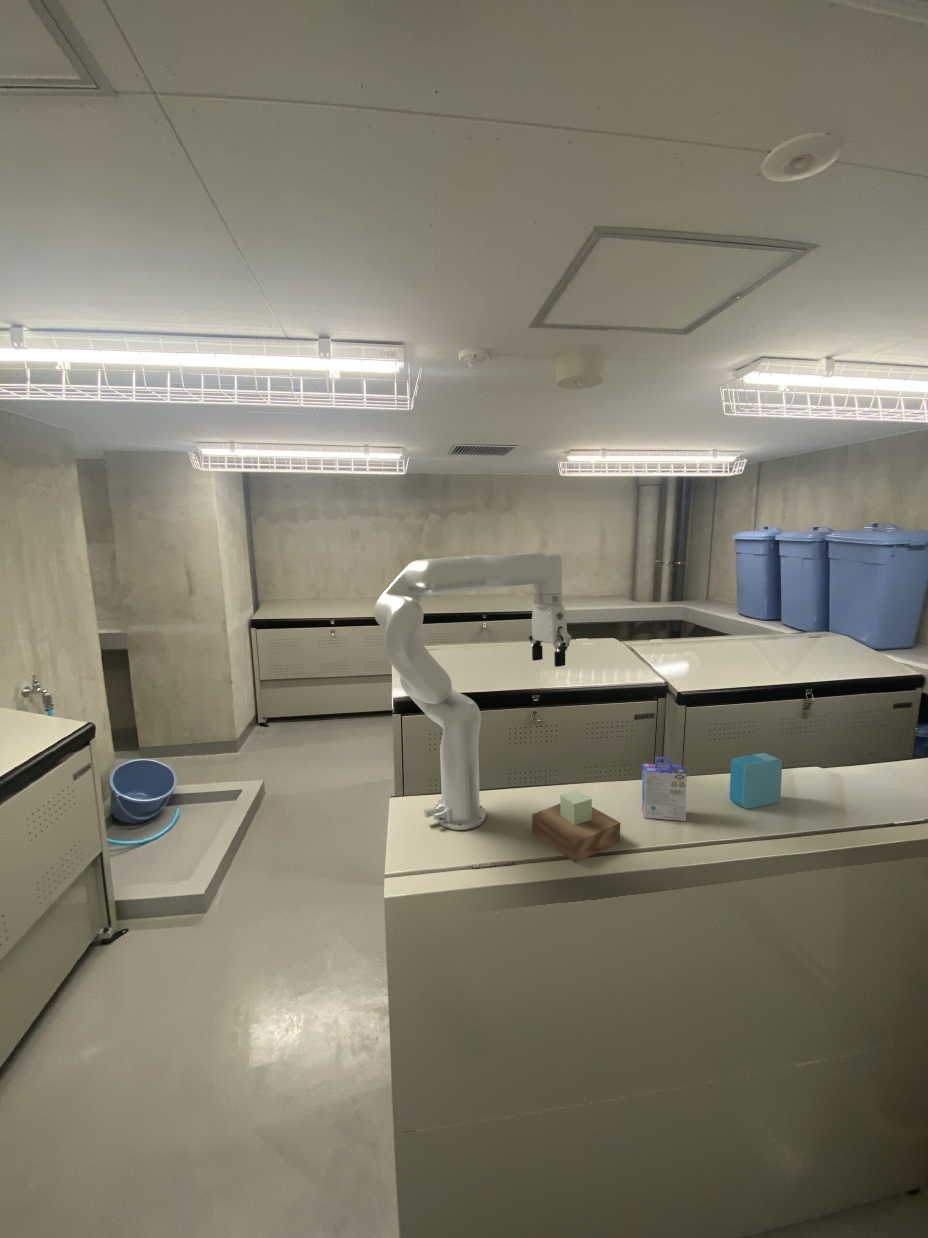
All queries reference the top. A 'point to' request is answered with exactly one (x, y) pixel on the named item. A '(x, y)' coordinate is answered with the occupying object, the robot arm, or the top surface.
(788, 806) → the top surface
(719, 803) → the top surface
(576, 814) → the sage cube
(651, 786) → the ink cartridge box
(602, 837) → the walnut block
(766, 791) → the blue rounded block
